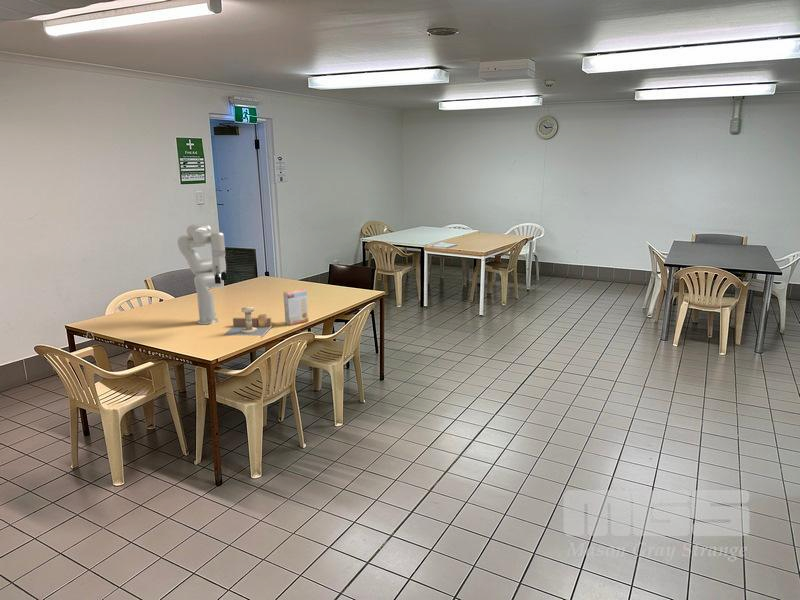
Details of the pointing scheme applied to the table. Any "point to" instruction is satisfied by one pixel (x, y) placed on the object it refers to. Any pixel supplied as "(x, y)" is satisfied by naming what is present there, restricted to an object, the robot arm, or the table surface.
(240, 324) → the grey board with ledge
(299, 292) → the cracker box
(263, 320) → the copper block
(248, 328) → the bobbin
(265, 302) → the table surface
